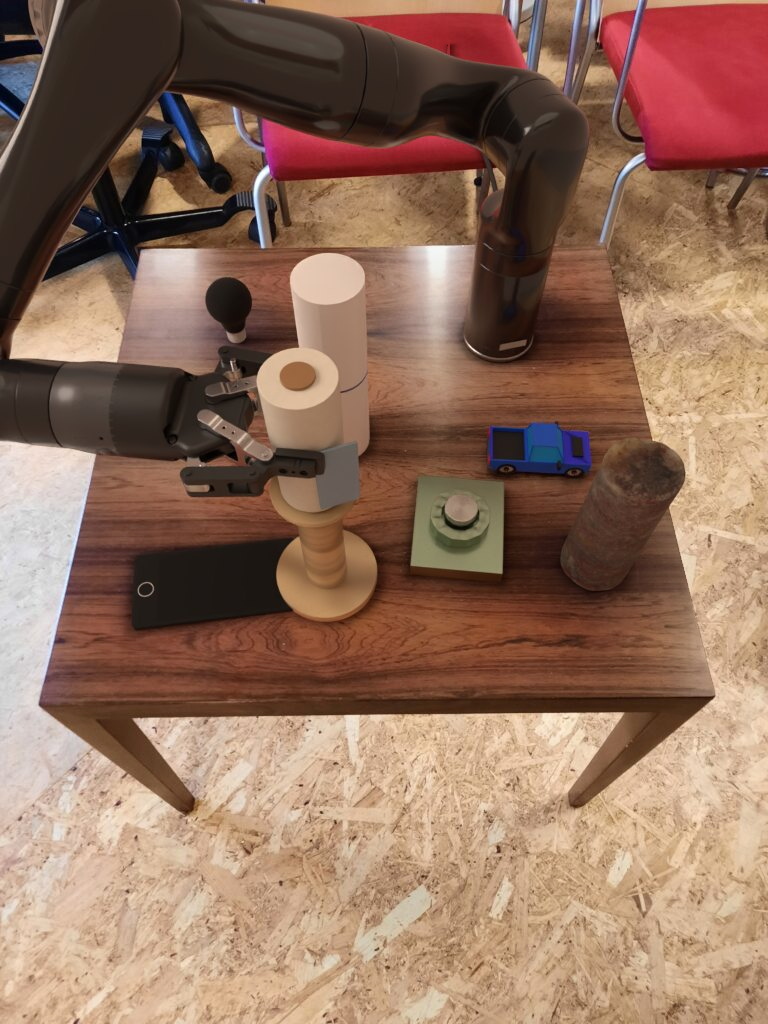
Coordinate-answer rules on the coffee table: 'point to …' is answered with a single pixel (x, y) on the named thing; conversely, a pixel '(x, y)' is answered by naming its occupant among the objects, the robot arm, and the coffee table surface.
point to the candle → (621, 512)
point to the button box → (458, 531)
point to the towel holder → (323, 563)
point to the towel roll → (309, 426)
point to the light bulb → (229, 306)
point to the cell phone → (207, 584)
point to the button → (460, 511)
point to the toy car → (538, 450)
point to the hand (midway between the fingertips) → (330, 429)
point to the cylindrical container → (336, 330)
